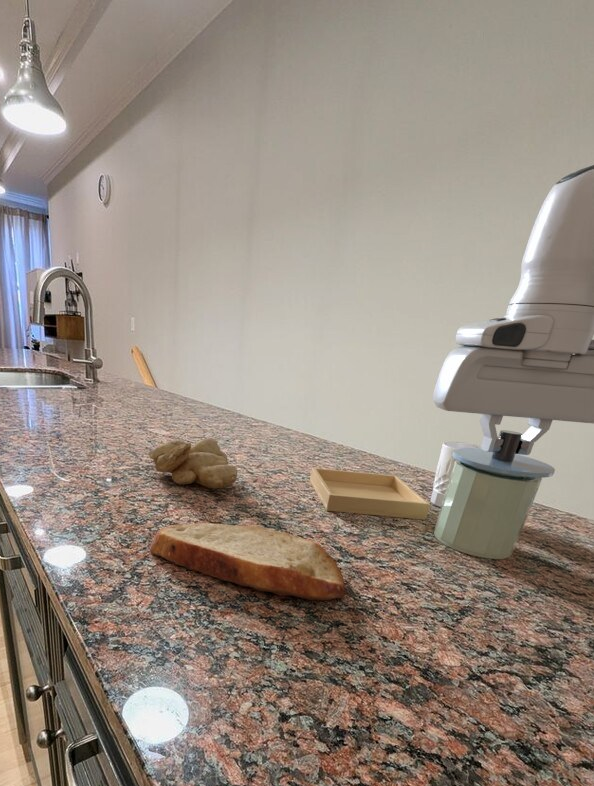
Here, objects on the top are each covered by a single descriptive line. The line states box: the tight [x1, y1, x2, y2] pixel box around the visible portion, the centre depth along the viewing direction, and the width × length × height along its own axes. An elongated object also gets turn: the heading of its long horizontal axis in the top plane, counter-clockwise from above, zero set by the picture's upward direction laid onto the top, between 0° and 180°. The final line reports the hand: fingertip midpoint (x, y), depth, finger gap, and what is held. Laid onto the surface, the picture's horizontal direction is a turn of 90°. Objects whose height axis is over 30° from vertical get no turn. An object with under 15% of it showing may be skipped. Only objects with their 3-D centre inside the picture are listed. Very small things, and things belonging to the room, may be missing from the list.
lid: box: [453, 429, 556, 479], centre depth 56 cm, size 11×11×5 cm
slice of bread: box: [149, 522, 347, 601], centre depth 48 cm, size 18×18×4 cm
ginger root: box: [148, 438, 238, 490], centre depth 75 cm, size 16×16×8 cm
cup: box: [433, 460, 543, 560], centre depth 59 cm, size 10×10×10 cm
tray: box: [309, 467, 431, 521], centre depth 74 cm, size 15×14×3 cm
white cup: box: [430, 441, 482, 509], centre depth 73 cm, size 8×8×10 cm
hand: (504, 452), depth 56 cm, fingers closed on lid, 2 cm apart
